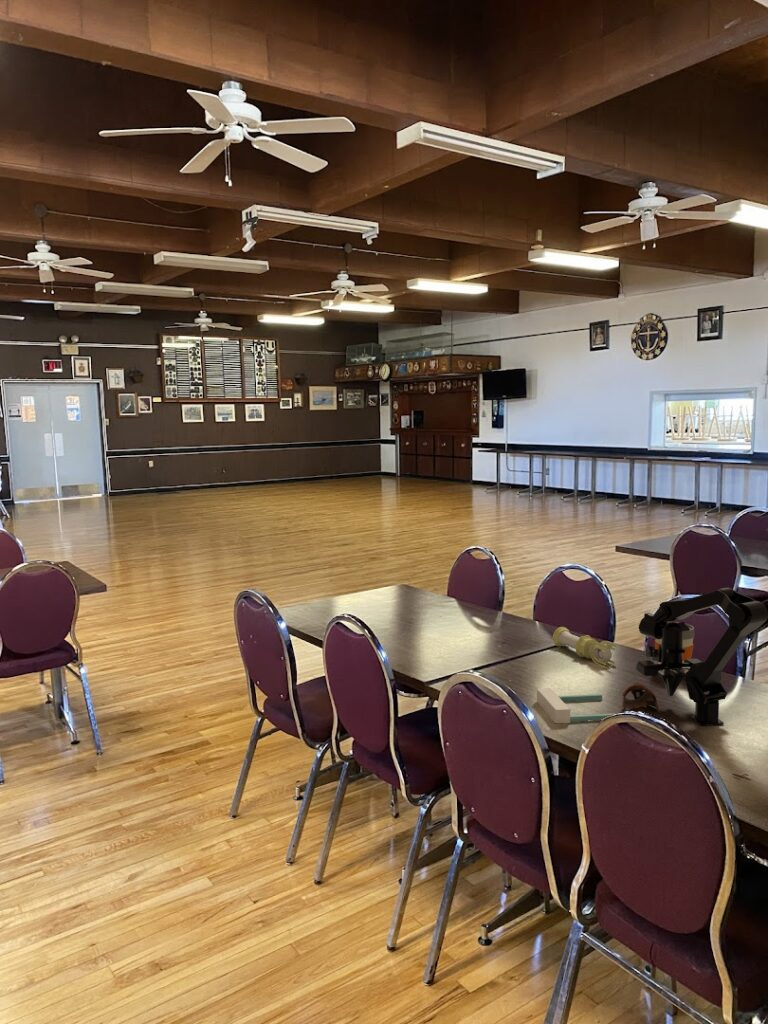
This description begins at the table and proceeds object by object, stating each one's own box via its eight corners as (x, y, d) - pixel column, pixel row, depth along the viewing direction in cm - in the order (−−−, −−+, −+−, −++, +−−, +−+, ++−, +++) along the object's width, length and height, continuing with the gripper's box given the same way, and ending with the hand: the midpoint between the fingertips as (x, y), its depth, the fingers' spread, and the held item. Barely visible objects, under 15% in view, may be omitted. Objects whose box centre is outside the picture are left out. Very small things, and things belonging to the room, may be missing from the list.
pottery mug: (665, 717, 207) (654, 695, 204) (633, 729, 209) (622, 708, 206) (653, 692, 218) (642, 670, 215) (623, 704, 220) (612, 683, 218)
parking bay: (624, 720, 204) (624, 706, 203) (555, 724, 202) (556, 709, 201) (600, 698, 220) (600, 685, 220) (536, 701, 218) (536, 688, 218)
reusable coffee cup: (644, 667, 249) (646, 623, 247) (674, 662, 253) (675, 619, 251) (671, 678, 237) (672, 633, 235) (702, 673, 241) (703, 629, 240)
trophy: (551, 626, 273) (603, 647, 245) (568, 624, 276) (621, 644, 248) (551, 647, 274) (603, 670, 246) (567, 645, 277) (621, 668, 249)
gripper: (688, 634, 221) (687, 684, 222) (628, 636, 219) (627, 687, 221) (708, 645, 210) (706, 698, 211) (645, 647, 208) (644, 701, 209)
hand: (670, 695), depth 213 cm, fingers closed
